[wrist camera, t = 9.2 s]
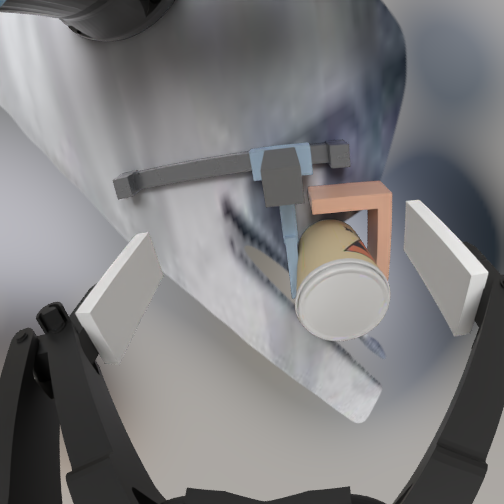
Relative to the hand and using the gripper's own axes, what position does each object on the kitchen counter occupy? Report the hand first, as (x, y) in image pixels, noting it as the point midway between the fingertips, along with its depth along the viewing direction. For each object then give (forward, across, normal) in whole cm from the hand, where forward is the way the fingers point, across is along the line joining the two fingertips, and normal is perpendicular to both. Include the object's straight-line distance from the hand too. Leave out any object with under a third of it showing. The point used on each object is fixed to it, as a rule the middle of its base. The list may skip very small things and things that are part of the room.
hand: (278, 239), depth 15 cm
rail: (+21, -6, 0) cm, 22 cm away
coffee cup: (+21, +5, -12) cm, 25 cm away
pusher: (+21, 0, -8) cm, 22 cm away
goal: (+21, +7, -12) cm, 25 cm away
